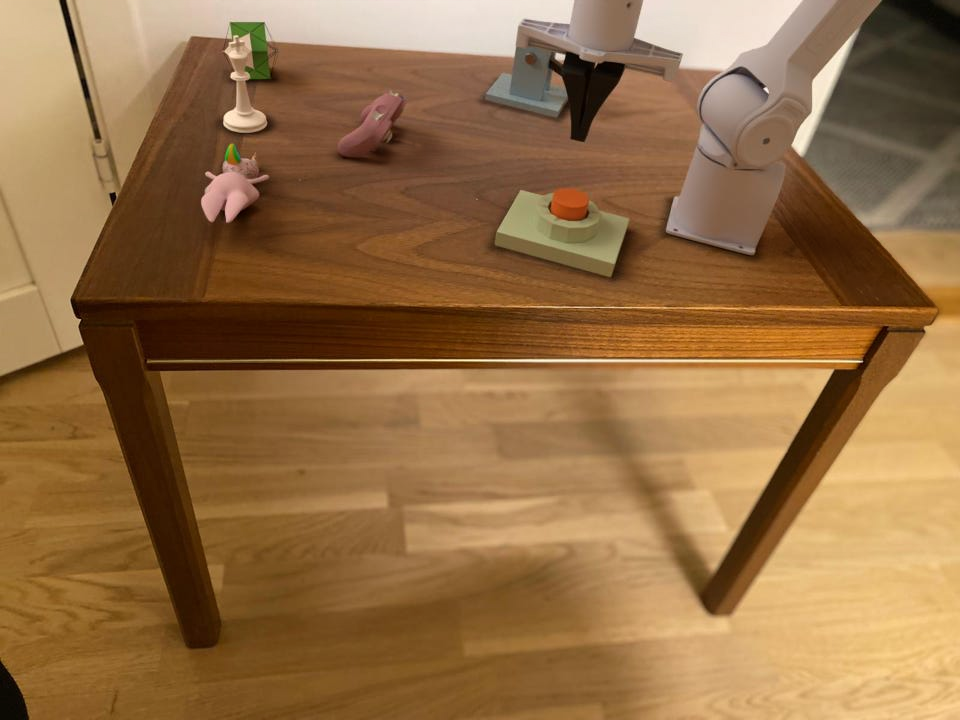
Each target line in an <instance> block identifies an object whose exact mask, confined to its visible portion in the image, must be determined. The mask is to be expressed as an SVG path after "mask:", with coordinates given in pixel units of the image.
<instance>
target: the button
mask: <svg viewBox="0 0 960 720" xmlns="http://www.w3.org/2000/svg"><path fill="white" fill-rule="evenodd" d="M553 193H554V194H553V199H552V203H551V208H550V211H551V213H552V214H553V215H554V216H556V217H557V218H559V219H563V220H567V221H581V220H583V219H584V218H585V216H586V212H587V208H588V204H589V200H590V198H589V197H588V196H587V194H586V193H584V192H583V191H580V190H579V189H574V188H570V187H565V188H564V187H563V188H559V189H556V190H555V191H554V192H553Z"/></svg>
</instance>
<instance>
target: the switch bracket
mask: <svg viewBox="0 0 960 720" xmlns="http://www.w3.org/2000/svg"><path fill="white" fill-rule="evenodd" d="M550 55H551V56H552V57H553V58H555V59H556V55H557V53H555V52H550V51H546V50H542V49H537V48H533V47H528V48H520V47H516V46H515V50H514V57H513V65H512V72H511V74H510V73H506V72H502V73H501V74H500V76H499V77H498V78H497V79H496V80H495V82H494V83H493V84H492V85H491V86H490V88H489V89H488V90H487V91H486V93H485V95H484V96H485V97H484V100H485V101H489V102H493V103H496V104H501V105H505V106H509V107H512V108H517V109H521V110H525V111H529V112H533V113H537V114H541V115H546V116H549V117H553V118H559V116H560V114H561V112H562V111H563V109H564V107H565V106H566V103H567V102H568V96H567V92H566V88H565V86H561V85H556V84H552V79H553V73H554V71H553V70H552V69H550V68H549V67H548V65H549V60H550Z"/></svg>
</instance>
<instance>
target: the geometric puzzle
mask: <svg viewBox="0 0 960 720" xmlns="http://www.w3.org/2000/svg"><path fill="white" fill-rule="evenodd" d="M228 26H229V27H228V28H227V33H226V37H225V40H224V45H223V47H222V50H221V52H222V53H223V55H224V56H225V59H226V61H227V63H228V64H229V66H230V69H231V70H232V72H235V70H234V68H233V66H232V64H231V62H230V60H228V57H229V53H230V52H232V51H235V48H230V47H229V45H228V46H227V47H226V48H225V46H226V43H227V37H228V34H229V29H230V33H231V42H234V39H233V36H235V35H237V36H239V41H241V40H243V41H245V46H240V51H243V52H245V53H246V54H247V55H248V57H247V61H246V67H245V70H244V71H245V72H247V73H249V75H250V79H249V80H272V76H273V71H274V69H275V65H276V63H277V62H276V60H277V59H278V55H279V52H280V50H279V49H278V45H276V42H275V40H274V39H273V36H272V34H271V32H270V30H269V28H268V26H267V24H266V21H229V24H228ZM266 30H267V34H268V35H269V37H270V40H271V42H272V45H271V44H270V43H268V42H267V35H266ZM268 47H269V48H270V49H273V51H272V53H270V54H269V50H268ZM227 56H228V57H227ZM272 57H274V60H273V61H274V62H273V63H272V66H273V67H272V69H271V68H270V61H269V59H270V58H272ZM270 69H271V70H270Z"/></svg>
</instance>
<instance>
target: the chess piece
mask: <svg viewBox="0 0 960 720" xmlns="http://www.w3.org/2000/svg"><path fill="white" fill-rule="evenodd" d="M233 39H234V42H232V41H229V42H228V46H229V47H230V48H235V51H232V52H230V53H229V56H228V58H229V62H230V64H231V66H232V69H233V71H234V72H233V71H232V72H231V73H230V77H229V78H230V79H231V80H233V81H235V82H236V98H235V99H236V101H235V103H236V104H235V107H234V108H233V109H230V110H229V111H227V112H226V113H225V114H224V115H223V119H222V120H223V126H224V127H225V128H226V129H227V130H229V131H232V132H234V133H240V134H251V133H256V132H260V131H262V130H264V129H265V128H266V127H267V125H268V121H267V116H266V115H265V114H264V113H263V112H262V111H260V110H258V109H255V108H254V107H252V104H251V101H250V96H249V92H248V88H247V87H248V86H247V83H246V82H247V81H248V80H251V79H250V75H249V73H247V72H245V71H244V70H245V67H246V61H247V57H248V55H247V54H246V53H245V52H243V51H240V46H245V41H243V40H241V41H239V36H237V35H235V36H233Z"/></svg>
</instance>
